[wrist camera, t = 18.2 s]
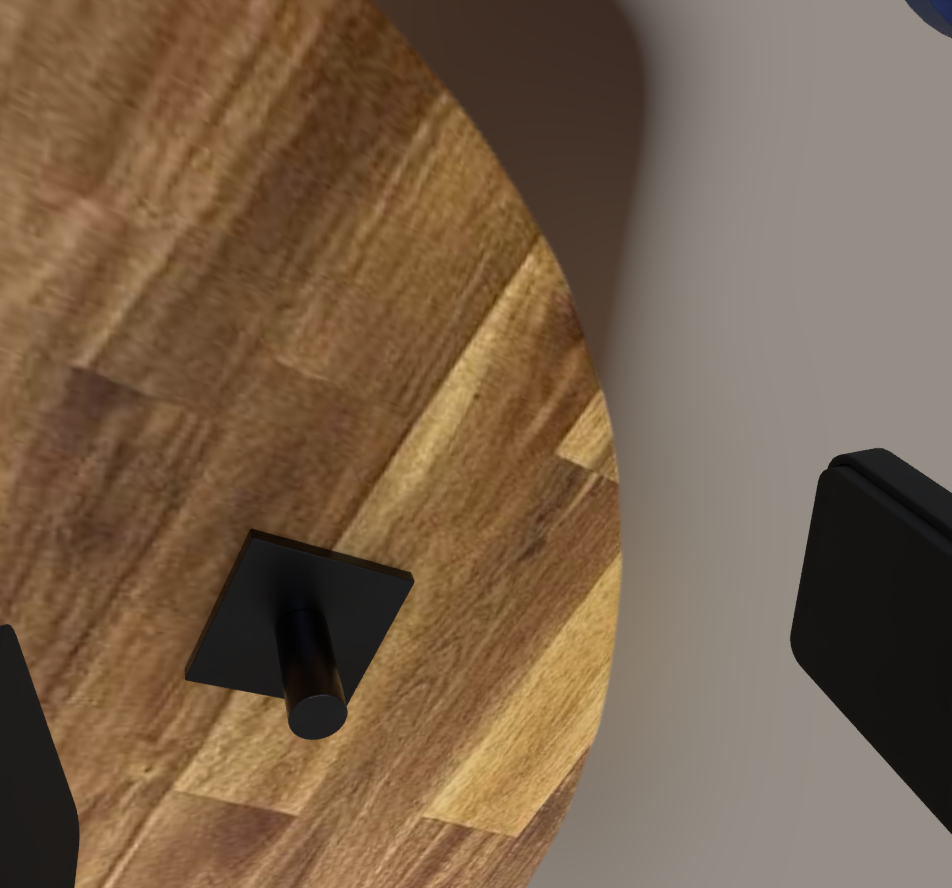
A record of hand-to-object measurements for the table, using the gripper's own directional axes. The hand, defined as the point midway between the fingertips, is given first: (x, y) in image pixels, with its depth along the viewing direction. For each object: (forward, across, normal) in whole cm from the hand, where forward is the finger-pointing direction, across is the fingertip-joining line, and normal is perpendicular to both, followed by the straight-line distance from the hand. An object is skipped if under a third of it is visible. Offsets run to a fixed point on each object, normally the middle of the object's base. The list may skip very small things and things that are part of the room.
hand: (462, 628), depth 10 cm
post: (+26, +1, +20) cm, 33 cm away
